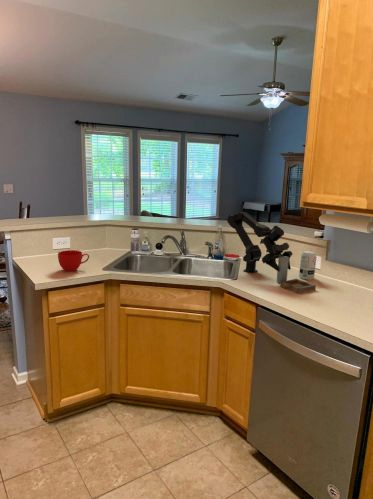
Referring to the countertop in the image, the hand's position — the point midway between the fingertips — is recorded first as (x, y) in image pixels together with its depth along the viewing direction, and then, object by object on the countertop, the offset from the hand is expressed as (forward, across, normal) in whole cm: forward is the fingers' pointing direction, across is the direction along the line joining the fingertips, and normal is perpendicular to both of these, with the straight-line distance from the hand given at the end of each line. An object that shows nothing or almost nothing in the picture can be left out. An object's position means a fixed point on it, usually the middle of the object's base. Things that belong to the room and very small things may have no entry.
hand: (284, 270), depth 194 cm
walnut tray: (+12, 0, -2) cm, 12 cm away
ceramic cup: (-47, -90, +57) cm, 116 cm away
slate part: (+4, 0, +6) cm, 7 cm away
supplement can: (+5, +20, +6) cm, 21 cm away
